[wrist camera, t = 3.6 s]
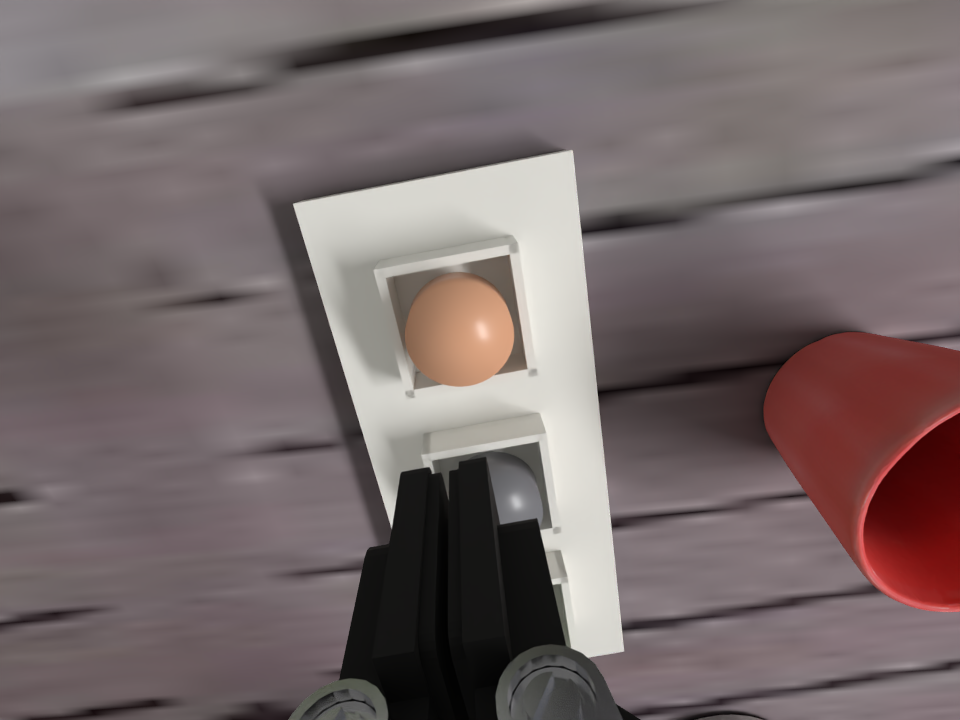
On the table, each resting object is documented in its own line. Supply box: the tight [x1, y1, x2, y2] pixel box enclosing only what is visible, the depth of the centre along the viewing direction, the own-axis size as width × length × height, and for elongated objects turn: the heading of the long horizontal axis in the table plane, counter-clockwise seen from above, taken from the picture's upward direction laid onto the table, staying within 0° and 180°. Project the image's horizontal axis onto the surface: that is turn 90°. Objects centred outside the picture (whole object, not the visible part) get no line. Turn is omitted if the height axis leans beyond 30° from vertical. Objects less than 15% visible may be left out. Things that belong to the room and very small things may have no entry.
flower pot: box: [763, 332, 960, 612], centre depth 24 cm, size 11×11×10 cm
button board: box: [293, 150, 624, 658], centre depth 28 cm, size 12×30×4 cm, turn 10°
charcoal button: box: [458, 452, 543, 527], centre depth 25 cm, size 4×4×2 cm
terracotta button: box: [405, 272, 514, 387], centre depth 22 cm, size 4×4×2 cm
